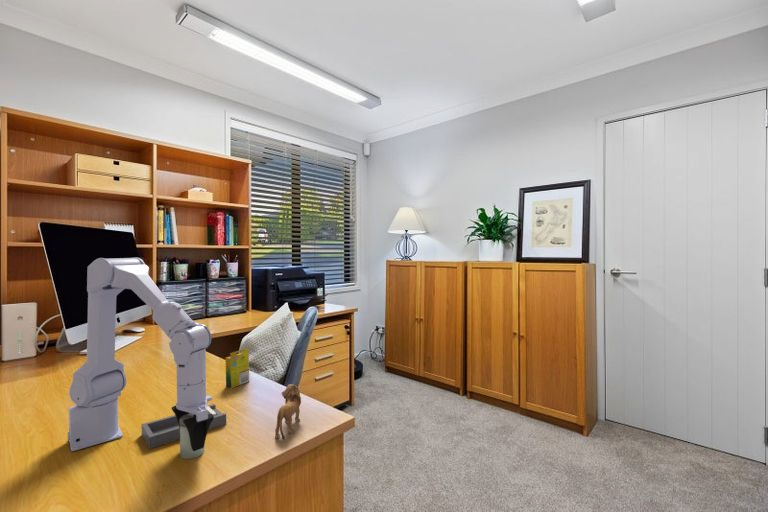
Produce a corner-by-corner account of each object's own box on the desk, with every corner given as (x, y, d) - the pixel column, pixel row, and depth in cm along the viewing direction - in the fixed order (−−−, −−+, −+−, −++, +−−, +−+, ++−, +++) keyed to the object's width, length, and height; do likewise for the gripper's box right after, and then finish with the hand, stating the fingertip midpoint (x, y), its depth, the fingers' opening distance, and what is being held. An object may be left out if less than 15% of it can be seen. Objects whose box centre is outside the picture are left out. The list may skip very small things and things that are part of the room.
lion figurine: (282, 415, 100) (282, 382, 99) (302, 414, 100) (302, 381, 100) (272, 443, 85) (272, 404, 85) (296, 441, 86) (295, 403, 85)
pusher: (193, 428, 90) (193, 420, 90) (185, 420, 95) (185, 412, 95) (216, 421, 94) (216, 413, 94) (208, 413, 99) (208, 406, 99)
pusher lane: (149, 448, 83) (149, 437, 83) (141, 434, 89) (141, 424, 89) (226, 424, 95) (226, 414, 94) (214, 413, 101) (214, 403, 101)
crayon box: (244, 380, 127) (243, 346, 127) (249, 381, 125) (249, 347, 125) (225, 387, 121) (224, 351, 120) (231, 388, 119) (230, 353, 119)
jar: (183, 462, 78) (183, 424, 77) (176, 452, 81) (176, 416, 81) (208, 453, 81) (208, 417, 81) (200, 444, 85) (200, 410, 84)
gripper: (222, 385, 78) (223, 448, 78) (200, 369, 89) (201, 425, 89) (186, 394, 73) (187, 461, 74) (167, 376, 84) (168, 435, 84)
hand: (192, 442), depth 81 cm, fingers open, 7 cm apart
